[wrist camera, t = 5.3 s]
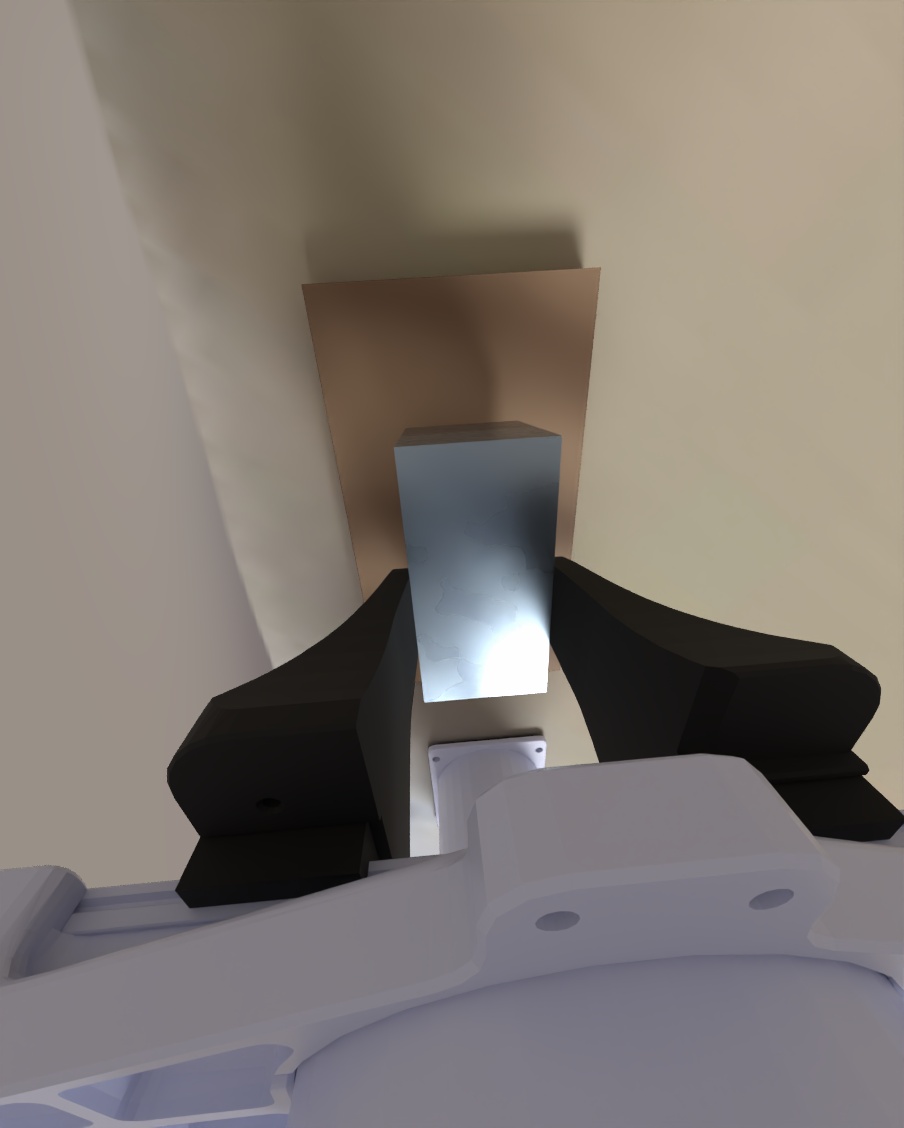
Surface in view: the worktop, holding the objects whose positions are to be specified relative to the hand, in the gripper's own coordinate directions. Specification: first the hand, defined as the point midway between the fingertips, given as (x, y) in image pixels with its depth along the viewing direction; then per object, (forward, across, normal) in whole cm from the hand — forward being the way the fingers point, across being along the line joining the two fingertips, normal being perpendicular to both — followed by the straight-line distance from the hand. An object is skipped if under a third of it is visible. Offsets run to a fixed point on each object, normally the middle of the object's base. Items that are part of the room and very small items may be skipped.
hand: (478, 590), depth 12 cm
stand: (+7, 0, 0) cm, 7 cm away
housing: (+4, 0, 0) cm, 4 cm away
